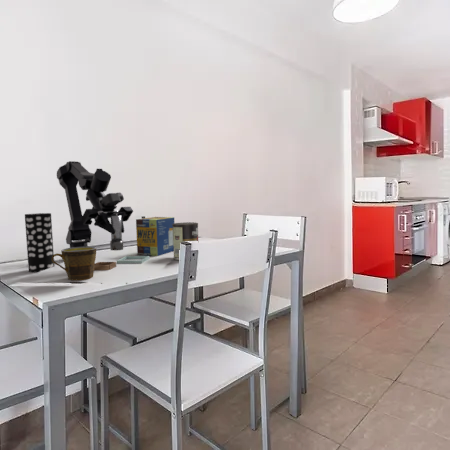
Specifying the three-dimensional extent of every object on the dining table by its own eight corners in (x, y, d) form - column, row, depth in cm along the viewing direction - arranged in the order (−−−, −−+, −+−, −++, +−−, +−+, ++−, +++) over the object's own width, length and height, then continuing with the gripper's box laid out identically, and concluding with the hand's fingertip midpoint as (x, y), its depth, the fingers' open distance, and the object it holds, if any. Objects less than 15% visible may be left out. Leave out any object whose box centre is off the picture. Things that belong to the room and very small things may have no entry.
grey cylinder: (109, 250, 131) (108, 216, 130) (111, 248, 135) (110, 215, 134) (122, 250, 132) (121, 216, 131) (123, 248, 136) (122, 215, 135)
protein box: (136, 255, 161) (135, 219, 160) (156, 249, 175) (155, 216, 174) (157, 256, 157) (156, 219, 156) (176, 250, 171) (174, 216, 170)
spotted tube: (28, 273, 128) (24, 215, 126) (28, 269, 135) (24, 214, 134) (55, 270, 132) (51, 213, 130) (53, 266, 139) (50, 212, 137)
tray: (116, 266, 137) (116, 260, 137) (126, 261, 147) (125, 256, 147) (142, 265, 136) (141, 260, 136) (149, 261, 146) (149, 256, 146)
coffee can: (202, 256, 155) (201, 222, 154) (195, 260, 145) (194, 224, 143) (178, 255, 157) (177, 222, 156) (169, 260, 147) (168, 224, 146)
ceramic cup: (90, 276, 122) (88, 245, 121) (103, 281, 114) (101, 248, 113) (48, 283, 113) (46, 250, 112) (59, 288, 106) (56, 253, 105)
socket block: (90, 272, 126) (90, 265, 126) (99, 268, 133) (98, 261, 133) (109, 272, 126) (109, 265, 126) (117, 268, 132) (116, 261, 132)
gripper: (84, 185, 126) (104, 219, 121) (129, 185, 141) (149, 215, 135) (72, 207, 132) (91, 241, 126) (117, 205, 147) (136, 235, 141)
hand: (118, 232), depth 132 cm, fingers closed on grey cylinder, 4 cm apart
